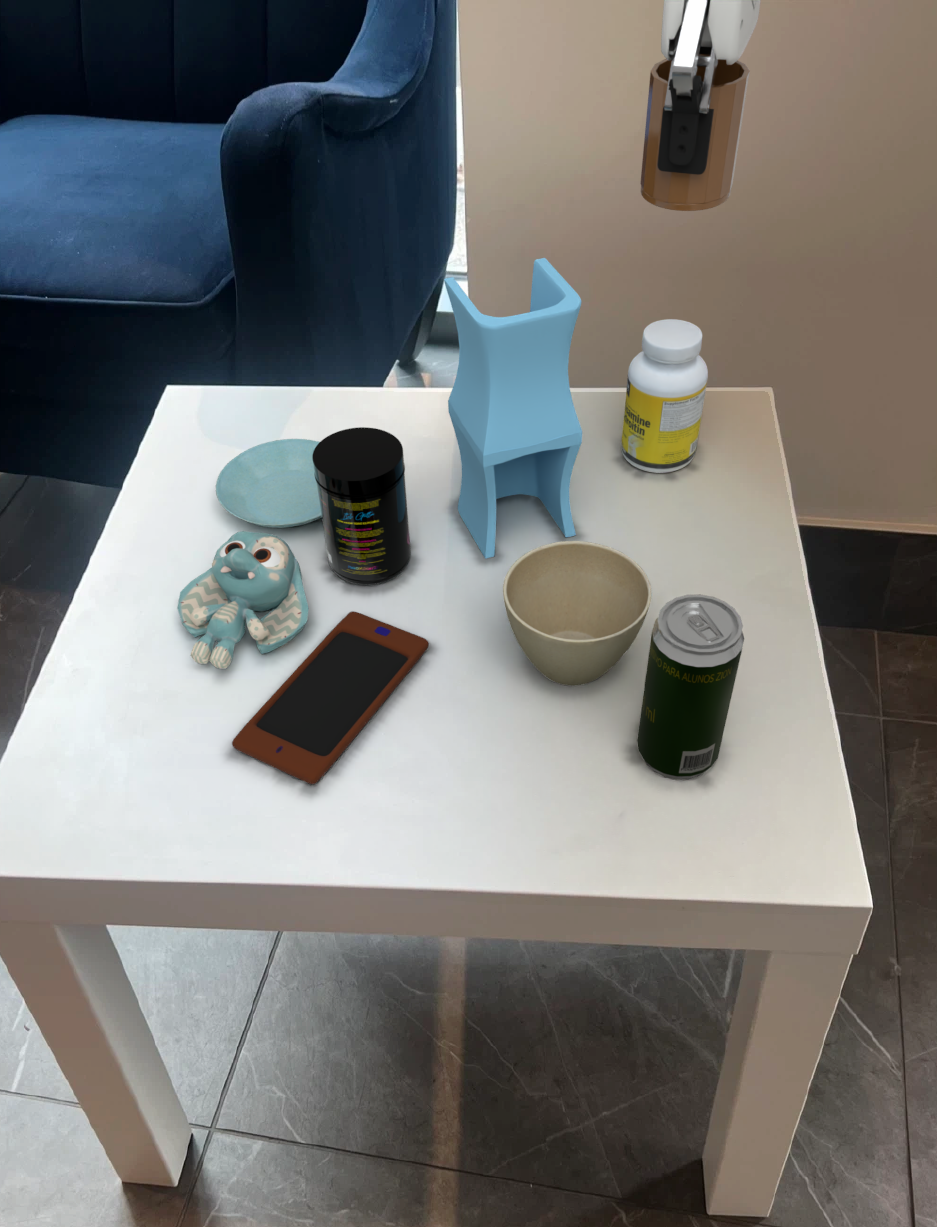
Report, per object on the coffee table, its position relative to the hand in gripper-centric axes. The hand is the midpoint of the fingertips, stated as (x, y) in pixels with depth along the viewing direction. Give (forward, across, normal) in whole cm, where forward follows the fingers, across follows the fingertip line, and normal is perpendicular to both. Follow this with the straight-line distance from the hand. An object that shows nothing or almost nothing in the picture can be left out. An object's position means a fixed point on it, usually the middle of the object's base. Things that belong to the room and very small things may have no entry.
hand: (691, 147), depth 77 cm
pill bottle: (+27, +1, 0) cm, 27 cm away
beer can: (+26, -32, -8) cm, 42 cm away
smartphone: (+26, -34, +16) cm, 46 cm away
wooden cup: (+3, 0, 0) cm, 3 cm away
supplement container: (+27, -19, +19) cm, 38 cm away
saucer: (+27, -14, +28) cm, 41 cm away
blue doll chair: (+27, -11, +9) cm, 30 cm away
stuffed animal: (+27, -29, +25) cm, 47 cm away
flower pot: (+27, -26, 0) cm, 37 cm away
